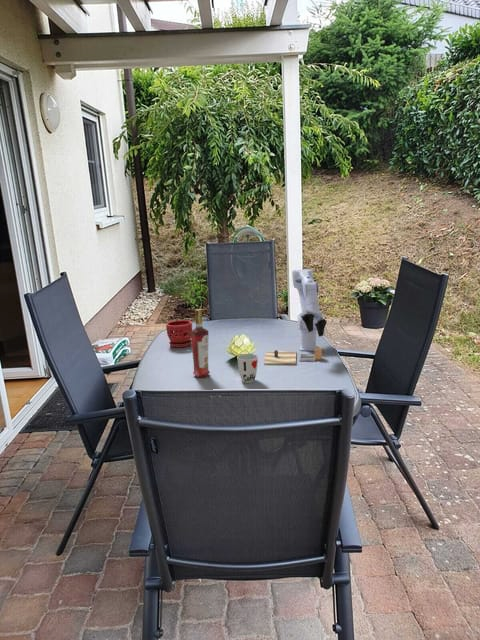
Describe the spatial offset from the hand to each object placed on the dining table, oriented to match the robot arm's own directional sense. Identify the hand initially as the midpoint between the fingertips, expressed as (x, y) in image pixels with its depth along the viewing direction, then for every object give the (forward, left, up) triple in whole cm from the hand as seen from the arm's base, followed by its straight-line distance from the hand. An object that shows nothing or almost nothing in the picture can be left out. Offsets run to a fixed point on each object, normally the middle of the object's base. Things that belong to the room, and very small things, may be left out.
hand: (316, 333), depth 209 cm
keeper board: (-3, -16, -13) cm, 21 cm away
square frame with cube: (-3, -2, -13) cm, 13 cm away
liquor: (+21, -48, -13) cm, 54 cm away
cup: (+26, -28, -13) cm, 40 cm away
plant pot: (-24, -68, -13) cm, 73 cm away
